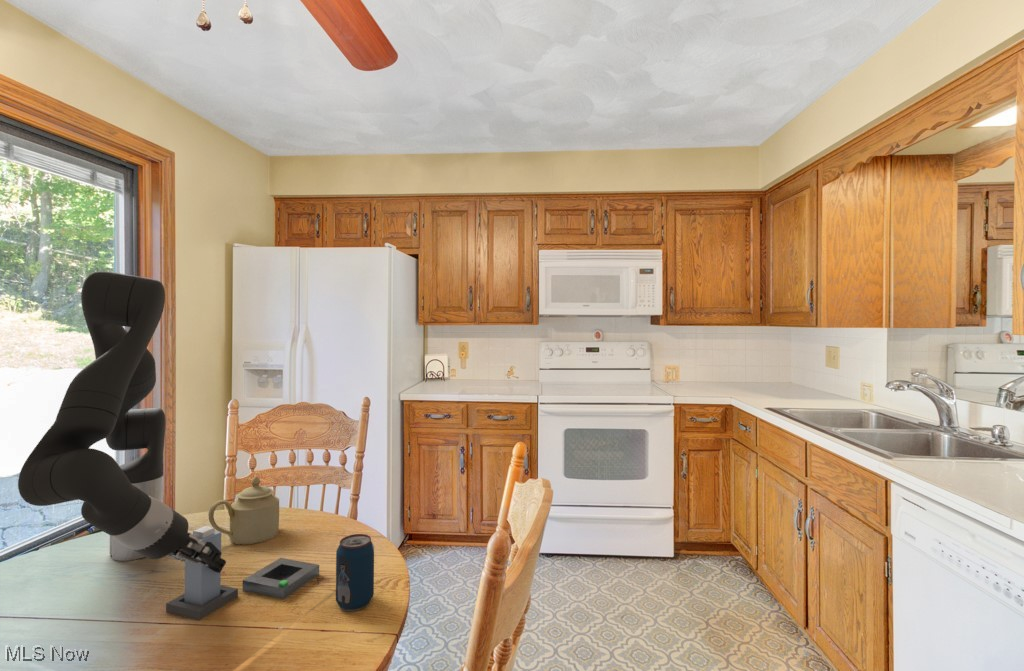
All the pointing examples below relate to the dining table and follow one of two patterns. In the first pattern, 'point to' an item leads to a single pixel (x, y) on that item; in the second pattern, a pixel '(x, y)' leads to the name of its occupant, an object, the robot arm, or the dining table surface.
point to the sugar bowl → (250, 515)
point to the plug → (202, 572)
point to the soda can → (354, 572)
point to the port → (280, 578)
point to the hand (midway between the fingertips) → (212, 565)
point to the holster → (202, 611)
